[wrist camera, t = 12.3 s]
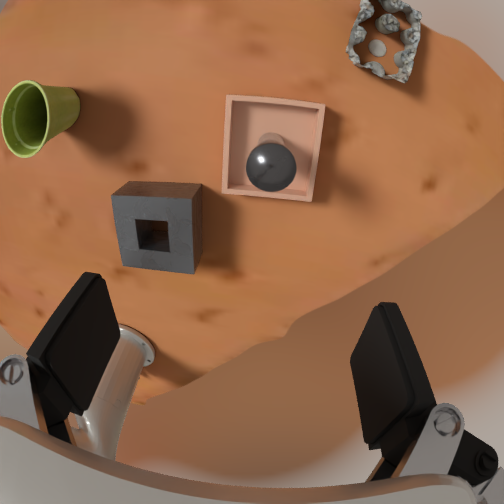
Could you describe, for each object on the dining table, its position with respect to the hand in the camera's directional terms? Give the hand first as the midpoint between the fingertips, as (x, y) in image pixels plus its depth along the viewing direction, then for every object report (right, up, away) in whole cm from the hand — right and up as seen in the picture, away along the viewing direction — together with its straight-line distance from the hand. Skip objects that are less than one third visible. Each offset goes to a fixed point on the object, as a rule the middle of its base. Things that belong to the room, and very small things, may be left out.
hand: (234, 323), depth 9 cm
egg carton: (+15, +27, +14) cm, 34 cm away
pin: (+3, +14, +21) cm, 26 cm away
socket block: (-11, +7, +28) cm, 31 cm away
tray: (+3, +15, +22) cm, 26 cm away
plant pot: (-25, +22, +20) cm, 38 cm away
